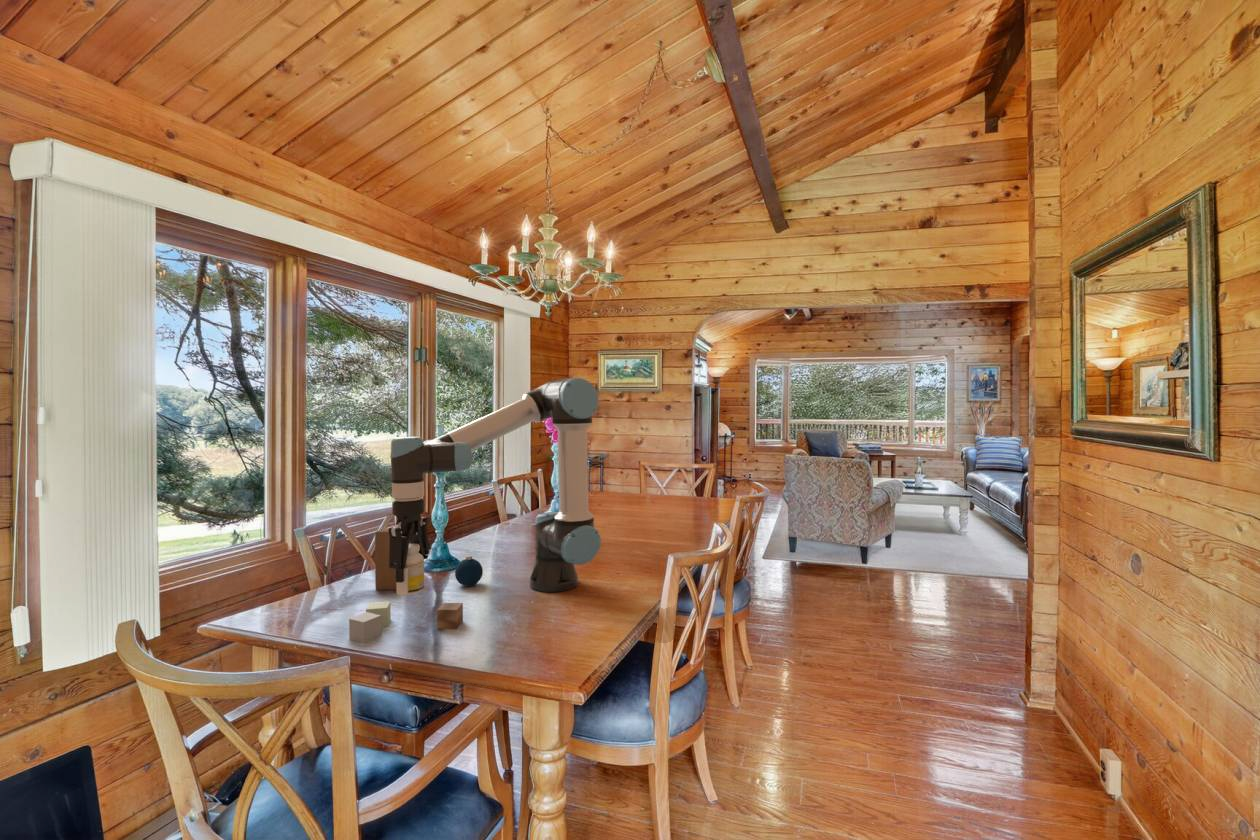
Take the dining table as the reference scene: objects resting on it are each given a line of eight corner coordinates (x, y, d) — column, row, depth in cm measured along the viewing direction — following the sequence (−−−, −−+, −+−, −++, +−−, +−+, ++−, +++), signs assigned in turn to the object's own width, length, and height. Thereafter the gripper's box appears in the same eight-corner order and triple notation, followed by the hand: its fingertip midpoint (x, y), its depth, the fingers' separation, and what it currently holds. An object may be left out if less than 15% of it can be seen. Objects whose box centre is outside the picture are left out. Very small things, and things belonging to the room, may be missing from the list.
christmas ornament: (486, 586, 178) (486, 554, 178) (460, 591, 173) (460, 558, 173) (477, 579, 185) (477, 549, 184) (451, 584, 180) (451, 552, 180)
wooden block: (409, 585, 179) (409, 528, 178) (404, 590, 174) (404, 531, 174) (380, 585, 178) (380, 528, 178) (374, 590, 174) (374, 531, 173)
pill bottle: (401, 587, 146) (400, 542, 146) (427, 586, 147) (426, 542, 146) (393, 596, 140) (392, 549, 139) (420, 595, 140) (419, 548, 140)
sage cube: (390, 620, 150) (390, 601, 150) (387, 627, 145) (387, 607, 145) (370, 621, 149) (369, 602, 149) (366, 628, 144) (365, 609, 144)
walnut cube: (462, 621, 149) (462, 603, 149) (456, 629, 144) (456, 609, 144) (443, 621, 149) (443, 602, 149) (437, 629, 144) (437, 609, 144)
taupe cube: (381, 635, 140) (381, 615, 140) (363, 643, 135) (363, 622, 135) (367, 631, 142) (366, 612, 142) (349, 639, 138) (349, 618, 138)
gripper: (416, 491, 153) (418, 576, 153) (370, 505, 134) (373, 602, 134) (442, 492, 151) (444, 578, 152) (398, 506, 132) (401, 604, 133)
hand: (410, 589), depth 143 cm, fingers closed on pill bottle, 6 cm apart
